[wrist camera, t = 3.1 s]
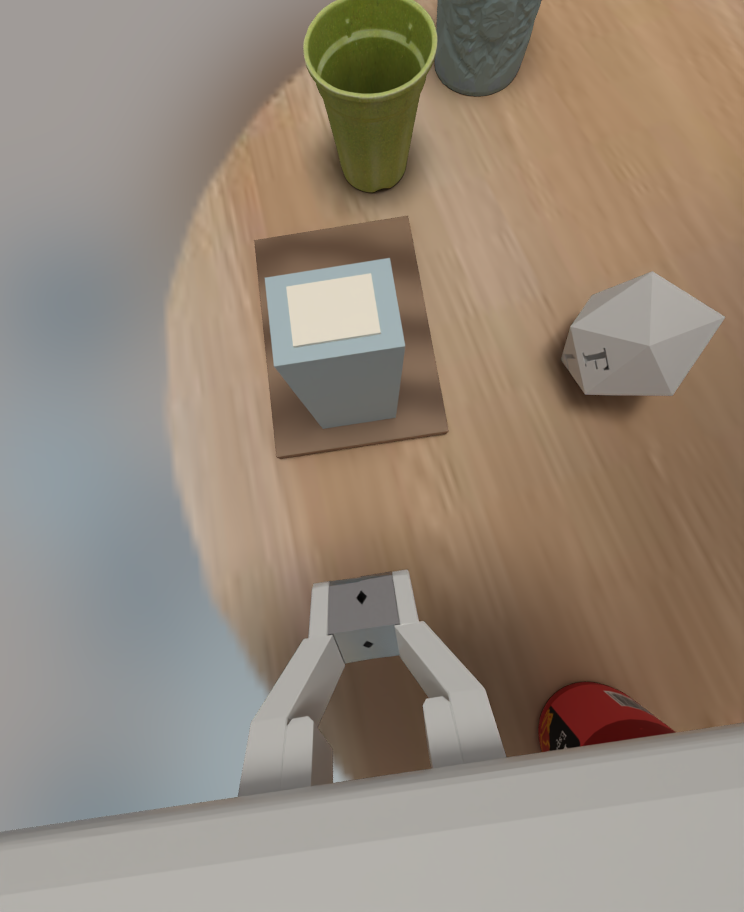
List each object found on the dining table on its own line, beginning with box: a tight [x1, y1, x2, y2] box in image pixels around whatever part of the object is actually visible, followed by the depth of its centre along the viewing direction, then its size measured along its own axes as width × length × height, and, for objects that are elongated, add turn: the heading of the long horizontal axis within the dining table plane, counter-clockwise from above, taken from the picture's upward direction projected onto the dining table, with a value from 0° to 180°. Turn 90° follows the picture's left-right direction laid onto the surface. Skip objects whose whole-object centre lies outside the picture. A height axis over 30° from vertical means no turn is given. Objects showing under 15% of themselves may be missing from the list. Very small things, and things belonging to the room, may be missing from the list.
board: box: [254, 216, 449, 459], centre depth 28 cm, size 20×14×1 cm
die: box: [561, 271, 725, 396], centre depth 24 cm, size 8×9×10 cm
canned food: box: [538, 682, 676, 752], centre depth 18 cm, size 8×8×11 cm
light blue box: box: [265, 258, 405, 429], centre depth 21 cm, size 4×6×12 cm
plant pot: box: [303, 0, 437, 192], centre depth 27 cm, size 9×9×9 cm
